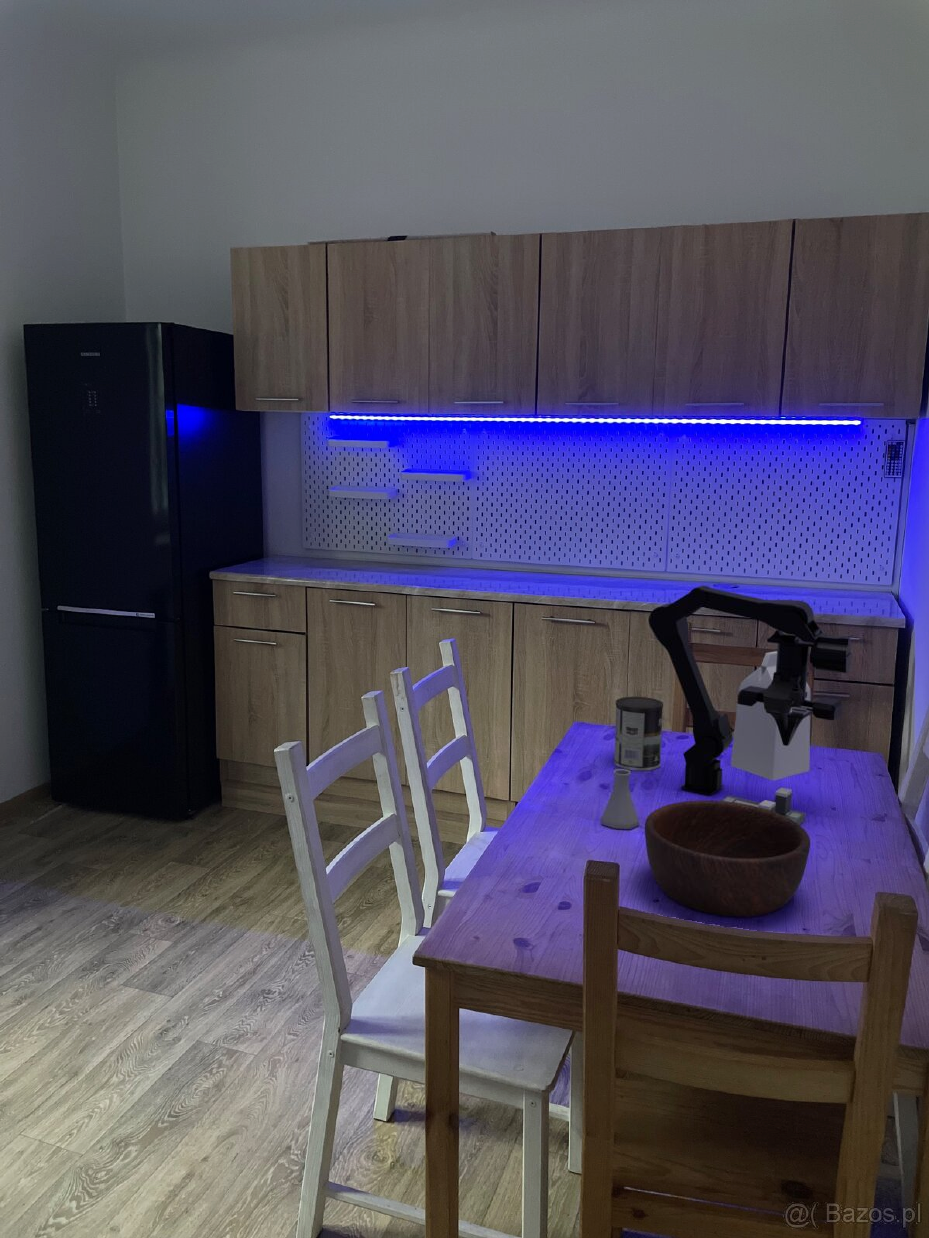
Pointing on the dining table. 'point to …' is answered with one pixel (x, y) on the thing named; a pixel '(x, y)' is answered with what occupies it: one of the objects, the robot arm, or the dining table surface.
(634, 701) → the coffee can
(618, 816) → the flask
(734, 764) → the milk
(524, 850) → the dining table surface
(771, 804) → the block
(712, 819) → the wooden bowl
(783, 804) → the breaker far
